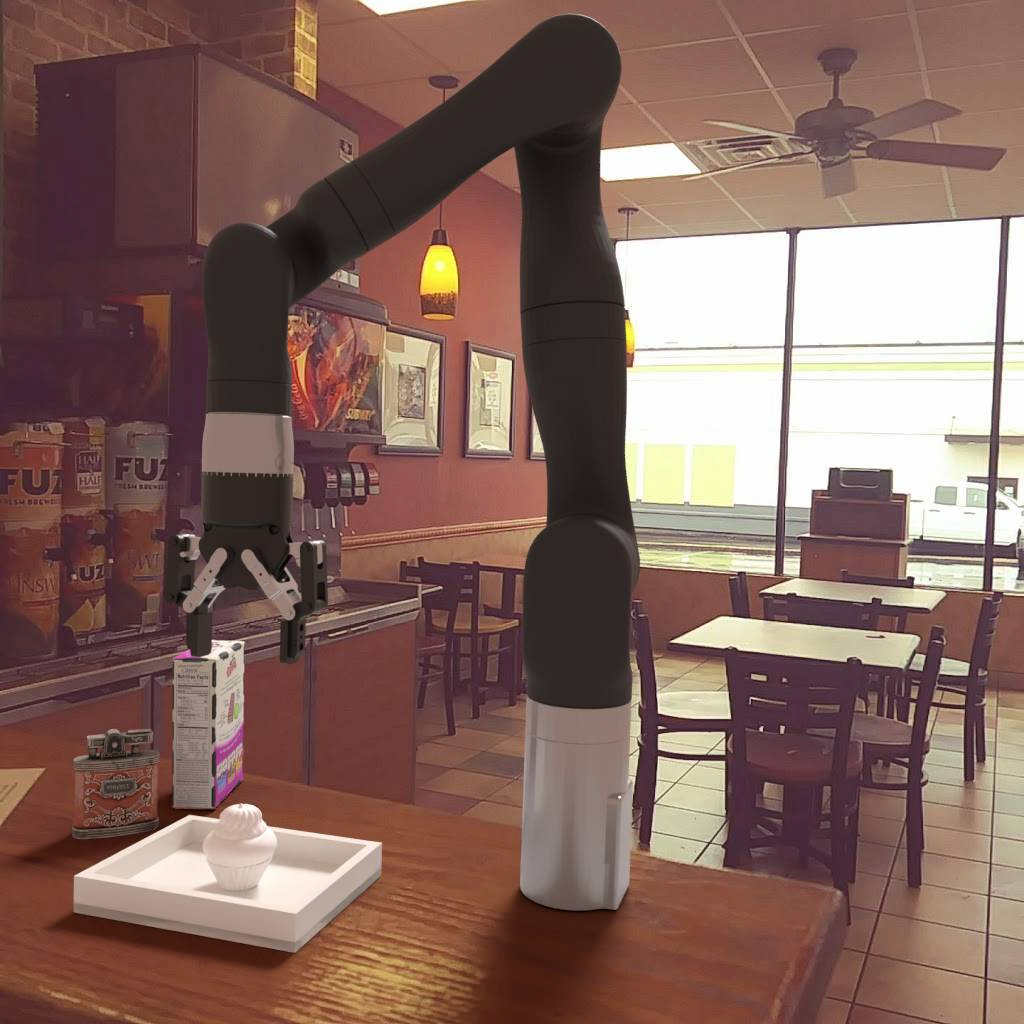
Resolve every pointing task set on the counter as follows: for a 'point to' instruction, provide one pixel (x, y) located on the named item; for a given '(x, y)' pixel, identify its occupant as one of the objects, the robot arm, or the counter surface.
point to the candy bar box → (207, 725)
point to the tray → (223, 913)
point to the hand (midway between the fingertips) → (244, 659)
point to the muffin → (239, 847)
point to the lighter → (116, 786)
